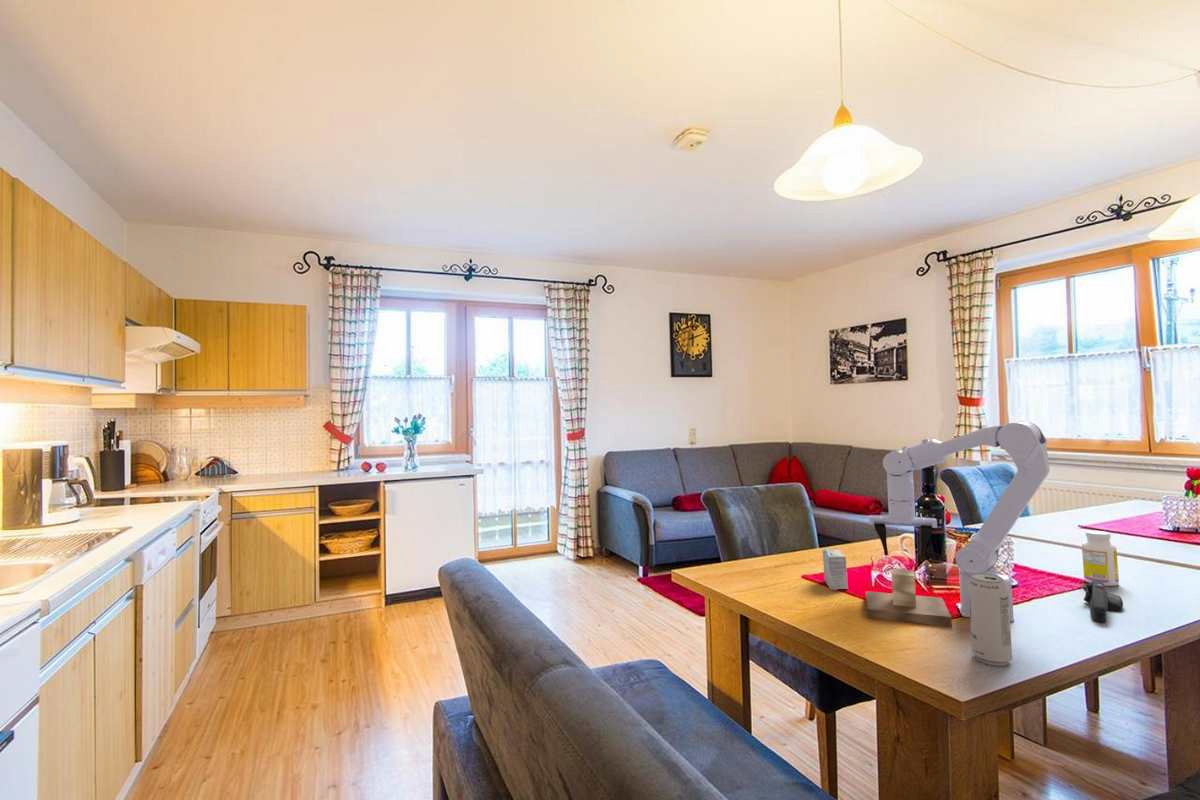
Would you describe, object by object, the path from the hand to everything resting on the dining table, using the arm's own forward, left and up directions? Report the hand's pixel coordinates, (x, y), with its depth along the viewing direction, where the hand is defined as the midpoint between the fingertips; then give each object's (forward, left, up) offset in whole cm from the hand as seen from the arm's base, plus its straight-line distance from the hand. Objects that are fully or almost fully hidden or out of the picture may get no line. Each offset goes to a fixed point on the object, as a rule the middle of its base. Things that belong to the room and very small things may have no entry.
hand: (903, 555), depth 136 cm
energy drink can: (-11, +32, -11) cm, 36 cm away
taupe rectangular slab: (+1, +10, -10) cm, 15 cm away
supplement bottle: (-46, -27, -11) cm, 54 cm away
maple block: (+1, +10, -8) cm, 13 cm away
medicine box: (+16, -6, -11) cm, 20 cm away
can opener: (-38, -3, -11) cm, 40 cm away
